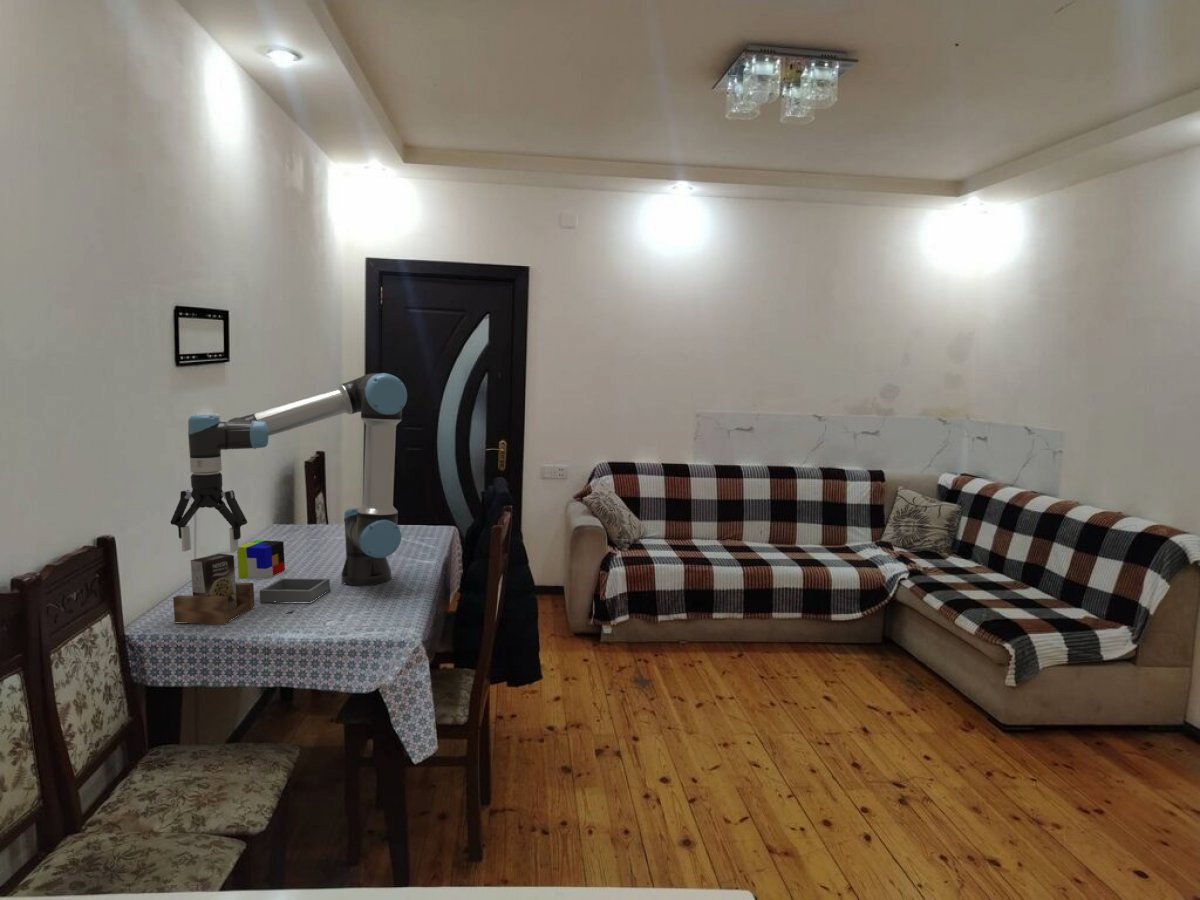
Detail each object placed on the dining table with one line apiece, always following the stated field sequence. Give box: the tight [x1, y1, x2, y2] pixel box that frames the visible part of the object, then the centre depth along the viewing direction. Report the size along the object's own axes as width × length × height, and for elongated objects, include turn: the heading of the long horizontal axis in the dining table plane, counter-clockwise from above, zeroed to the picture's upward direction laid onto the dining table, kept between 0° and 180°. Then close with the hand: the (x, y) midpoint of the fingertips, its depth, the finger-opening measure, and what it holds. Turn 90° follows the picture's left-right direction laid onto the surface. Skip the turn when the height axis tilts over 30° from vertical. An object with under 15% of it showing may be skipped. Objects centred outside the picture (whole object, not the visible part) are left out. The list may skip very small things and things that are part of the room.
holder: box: [172, 582, 256, 625], centre depth 220 cm, size 14×15×7 cm
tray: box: [259, 577, 331, 603], centre depth 237 cm, size 15×13×4 cm
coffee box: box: [190, 553, 237, 611], centre depth 220 cm, size 9×6×16 cm
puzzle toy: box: [236, 539, 286, 580], centre depth 263 cm, size 10×10×10 cm
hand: (210, 550), depth 219 cm, fingers open, 13 cm apart
